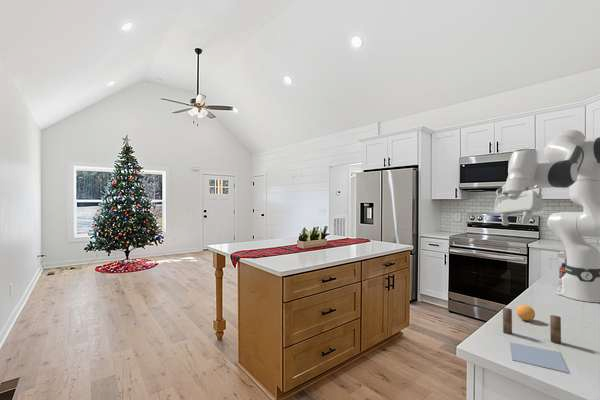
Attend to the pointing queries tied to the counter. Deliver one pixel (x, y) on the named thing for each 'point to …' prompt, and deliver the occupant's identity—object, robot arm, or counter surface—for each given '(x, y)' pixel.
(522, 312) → the ball
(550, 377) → the counter surface
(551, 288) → the counter surface
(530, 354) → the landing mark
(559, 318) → the post
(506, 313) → the post
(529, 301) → the counter surface
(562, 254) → the beer glass
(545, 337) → the counter surface
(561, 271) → the supplement bottle
